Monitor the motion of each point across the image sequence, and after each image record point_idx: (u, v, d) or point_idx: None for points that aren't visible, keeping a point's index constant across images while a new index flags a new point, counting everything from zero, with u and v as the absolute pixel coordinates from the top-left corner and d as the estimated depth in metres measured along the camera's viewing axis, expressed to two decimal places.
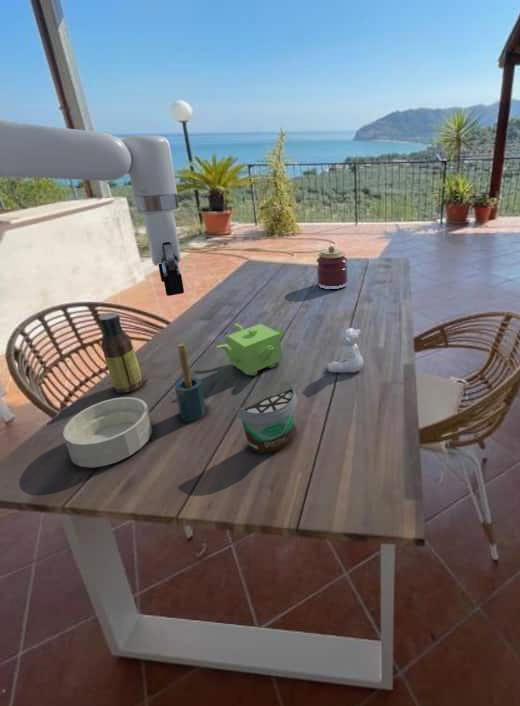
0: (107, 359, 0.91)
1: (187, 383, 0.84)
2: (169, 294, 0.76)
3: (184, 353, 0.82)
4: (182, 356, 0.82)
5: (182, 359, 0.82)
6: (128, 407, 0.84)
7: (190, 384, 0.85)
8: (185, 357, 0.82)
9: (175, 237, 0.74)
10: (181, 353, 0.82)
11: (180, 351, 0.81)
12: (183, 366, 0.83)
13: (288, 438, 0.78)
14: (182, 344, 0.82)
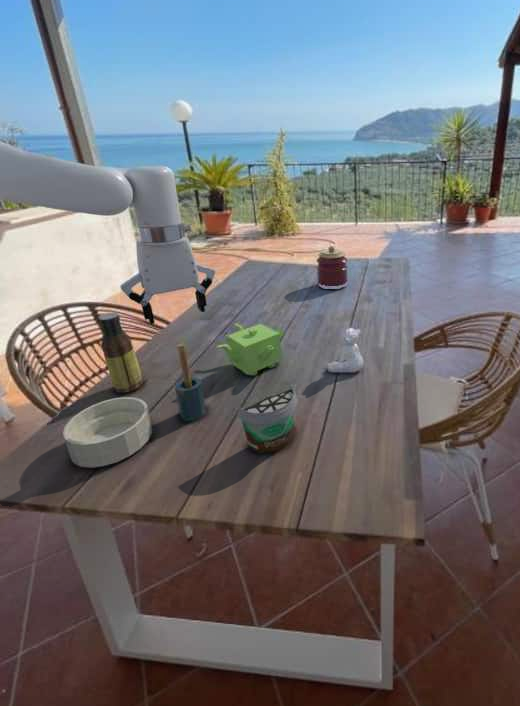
0: (107, 359, 0.91)
1: (187, 383, 0.84)
2: (148, 319, 0.78)
3: (184, 353, 0.82)
4: (182, 356, 0.82)
5: (182, 359, 0.82)
6: (128, 407, 0.84)
7: (190, 384, 0.85)
8: (185, 357, 0.82)
9: (141, 270, 0.72)
10: (181, 353, 0.82)
11: (180, 351, 0.81)
12: (183, 366, 0.83)
13: (288, 438, 0.78)
14: (182, 344, 0.82)
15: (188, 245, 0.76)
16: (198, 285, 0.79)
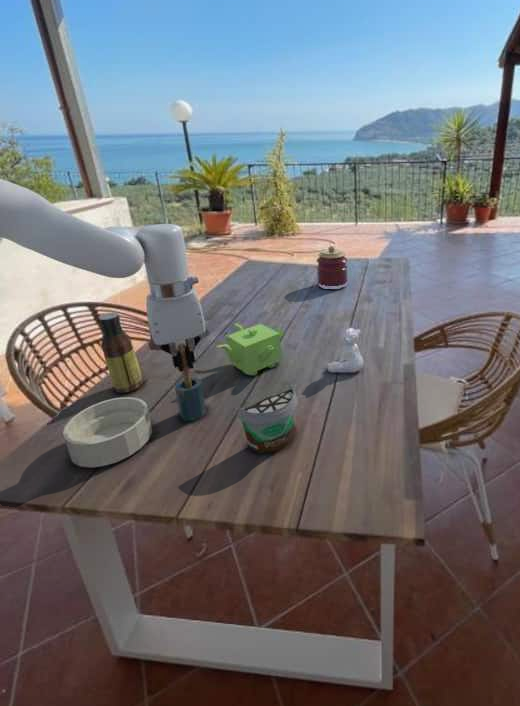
0: (107, 359, 0.91)
1: (187, 383, 0.84)
2: None
3: (184, 353, 0.82)
4: (182, 356, 0.82)
5: (182, 359, 0.82)
6: (128, 407, 0.84)
7: (190, 384, 0.85)
8: (185, 357, 0.82)
9: (151, 323, 0.75)
10: (181, 353, 0.82)
11: (180, 351, 0.81)
12: (183, 366, 0.83)
13: (288, 438, 0.78)
14: (182, 344, 0.82)
15: (195, 297, 0.79)
16: (192, 341, 0.82)
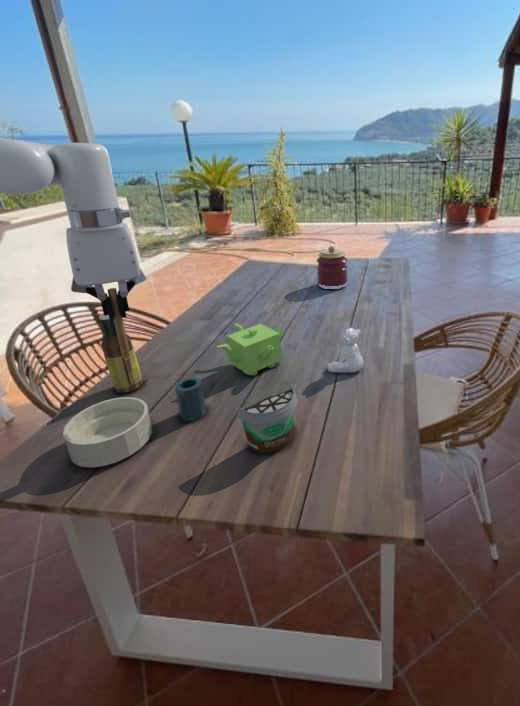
0: (107, 359, 0.91)
1: (120, 335, 0.74)
2: None
3: (115, 299, 0.72)
4: (113, 302, 0.71)
5: (113, 305, 0.72)
6: (128, 407, 0.84)
7: (124, 336, 0.74)
8: (117, 304, 0.72)
9: (70, 258, 0.65)
10: (111, 299, 0.71)
11: (110, 296, 0.71)
12: (114, 314, 0.72)
13: (288, 438, 0.78)
14: (113, 288, 0.71)
15: (126, 232, 0.69)
16: (124, 285, 0.71)
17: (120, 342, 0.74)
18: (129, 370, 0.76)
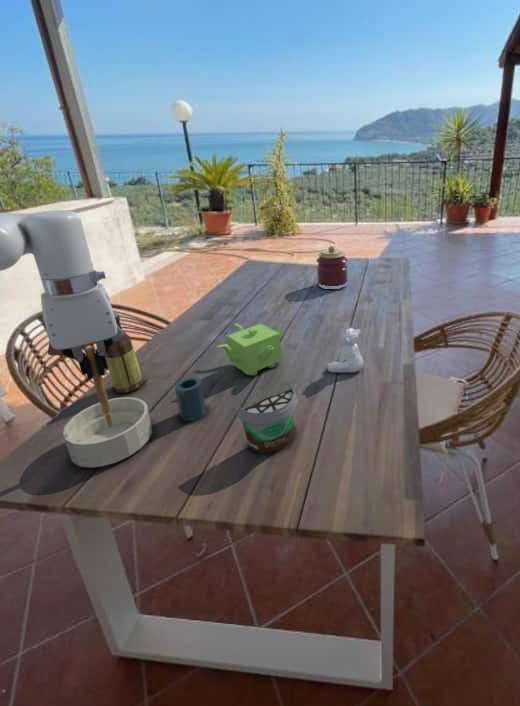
0: (107, 359, 0.91)
1: (99, 392, 0.74)
2: None
3: (93, 358, 0.72)
4: (91, 361, 0.72)
5: (91, 364, 0.72)
6: (128, 407, 0.84)
7: (104, 392, 0.75)
8: (95, 363, 0.73)
9: (46, 324, 0.66)
10: (89, 359, 0.72)
11: (88, 356, 0.72)
12: (92, 372, 0.73)
13: (288, 438, 0.78)
14: (90, 348, 0.72)
15: (101, 294, 0.69)
16: (102, 345, 0.72)
17: (100, 398, 0.75)
18: (110, 425, 0.77)
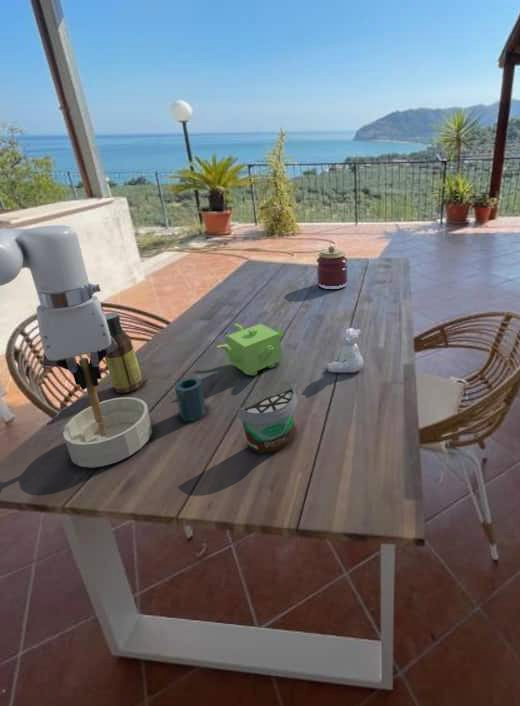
0: (107, 359, 0.91)
1: (93, 402, 0.76)
2: None
3: (87, 369, 0.74)
4: (85, 372, 0.74)
5: (85, 375, 0.74)
6: (128, 407, 0.84)
7: (97, 402, 0.76)
8: (88, 373, 0.74)
9: (41, 336, 0.67)
10: (83, 369, 0.73)
11: (82, 367, 0.73)
12: (86, 383, 0.74)
13: (288, 438, 0.78)
14: (84, 359, 0.74)
15: (96, 307, 0.71)
16: (95, 356, 0.73)
17: (93, 408, 0.76)
18: (102, 434, 0.78)
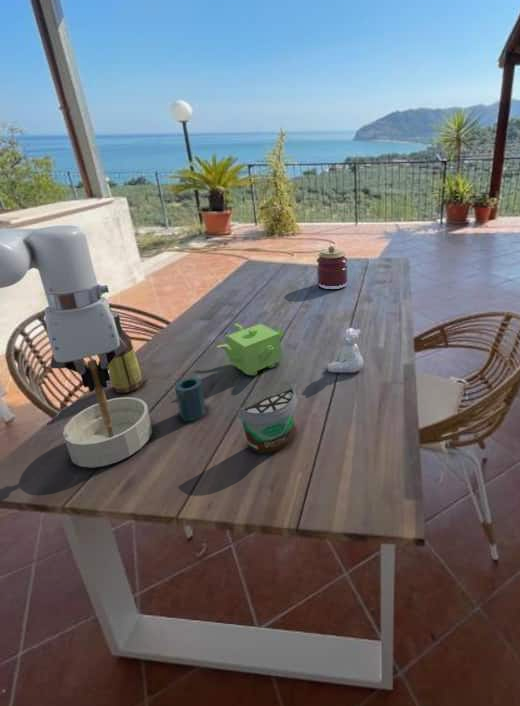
0: None
1: (101, 404, 0.75)
2: None
3: (95, 371, 0.73)
4: (93, 373, 0.73)
5: (94, 377, 0.73)
6: (128, 407, 0.84)
7: (105, 404, 0.76)
8: (97, 375, 0.73)
9: (49, 338, 0.66)
10: (91, 371, 0.73)
11: (90, 368, 0.72)
12: (95, 385, 0.74)
13: (288, 438, 0.78)
14: (93, 360, 0.73)
15: (104, 308, 0.70)
16: (104, 357, 0.73)
17: (101, 410, 0.76)
18: (111, 436, 0.77)
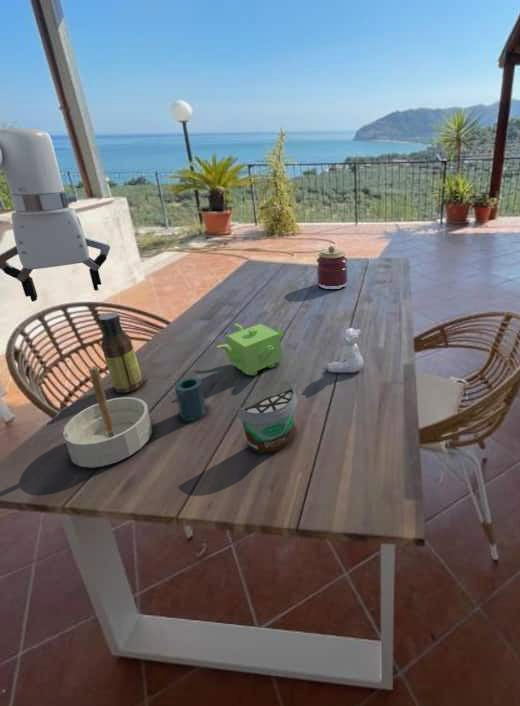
0: (107, 359, 0.91)
1: (103, 410, 0.76)
2: None
3: (97, 377, 0.73)
4: (95, 380, 0.73)
5: (95, 383, 0.74)
6: (128, 407, 0.84)
7: (107, 410, 0.76)
8: (98, 381, 0.74)
9: (16, 241, 0.67)
10: (93, 378, 0.73)
11: (92, 375, 0.73)
12: (96, 391, 0.74)
13: (288, 438, 0.78)
14: (94, 367, 0.73)
15: (72, 216, 0.70)
16: (88, 261, 0.74)
17: (103, 416, 0.76)
18: None
